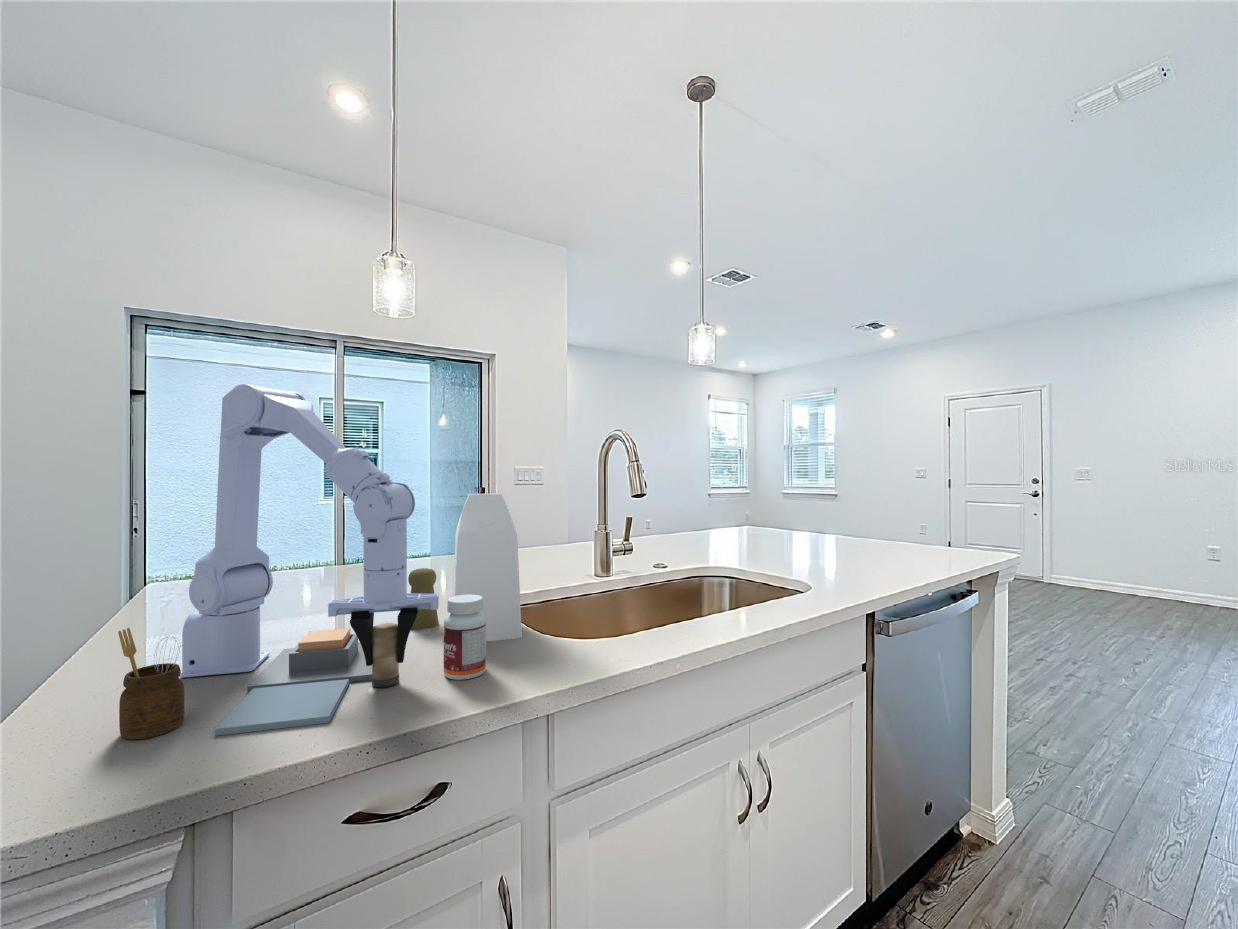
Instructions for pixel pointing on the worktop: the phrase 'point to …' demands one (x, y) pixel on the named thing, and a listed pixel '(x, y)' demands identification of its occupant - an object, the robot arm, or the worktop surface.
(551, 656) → the worktop surface
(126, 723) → the utensil holder
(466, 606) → the pill bottle
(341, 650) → the breaker housing
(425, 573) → the cork
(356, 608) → the robot arm
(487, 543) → the milk
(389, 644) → the rounded tan cylinder
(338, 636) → the button
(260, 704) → the rubber mat
